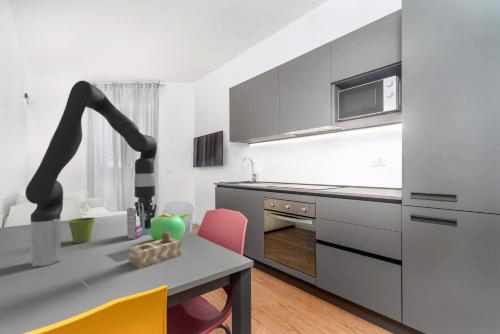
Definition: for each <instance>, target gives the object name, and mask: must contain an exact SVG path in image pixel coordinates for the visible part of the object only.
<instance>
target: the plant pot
mask: <svg viewBox="0 0 500 334" xmlns="http://www.w3.org/2000/svg"><path fill="white" fill-rule="evenodd" d="M95 220H96V217H79V218H73V219H69V220H67V223H68V225H69V227H70V232H71V233H70V234H71V236H72V237H71V238H72V242H73V243H74V244H79V243H80V244H83V243H88V242H89V241H91V240H92V239H91V238H92V232H93V226H94V224H95Z"/></svg>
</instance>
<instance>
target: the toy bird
mask: <svg viewBox="0 0 500 334" xmlns="http://www.w3.org/2000/svg"><path fill="white" fill-rule="evenodd" d="M190 214H191V213H189V212H187V213H182V214H179V215H178V214H177V215H175V214H171V213H161V214H160V215H158V216H157V217H154V218H153V219H152V220H151V228H150V234H149V235H150V237H151V238H152V239H153V240H154V241H157V240H161V239H162V232H166V231H168V232H170V238H173V239H176V240H180V239H181V238H182V237H183V235H184V234H185V232H186V224H185V222H184V219H185V218H187V217H188V216H190Z"/></svg>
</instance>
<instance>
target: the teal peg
mask: <svg viewBox="0 0 500 334" xmlns="http://www.w3.org/2000/svg"><path fill="white" fill-rule="evenodd" d="M146 212H147V211H146ZM141 216H142V236H149V235H150V229H145V218H144V214H143V210H141Z"/></svg>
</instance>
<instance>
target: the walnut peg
mask: <svg viewBox="0 0 500 334" xmlns="http://www.w3.org/2000/svg"><path fill="white" fill-rule="evenodd" d="M162 243H163V244H166V243H170V232H168V231H166V232H162Z"/></svg>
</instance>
